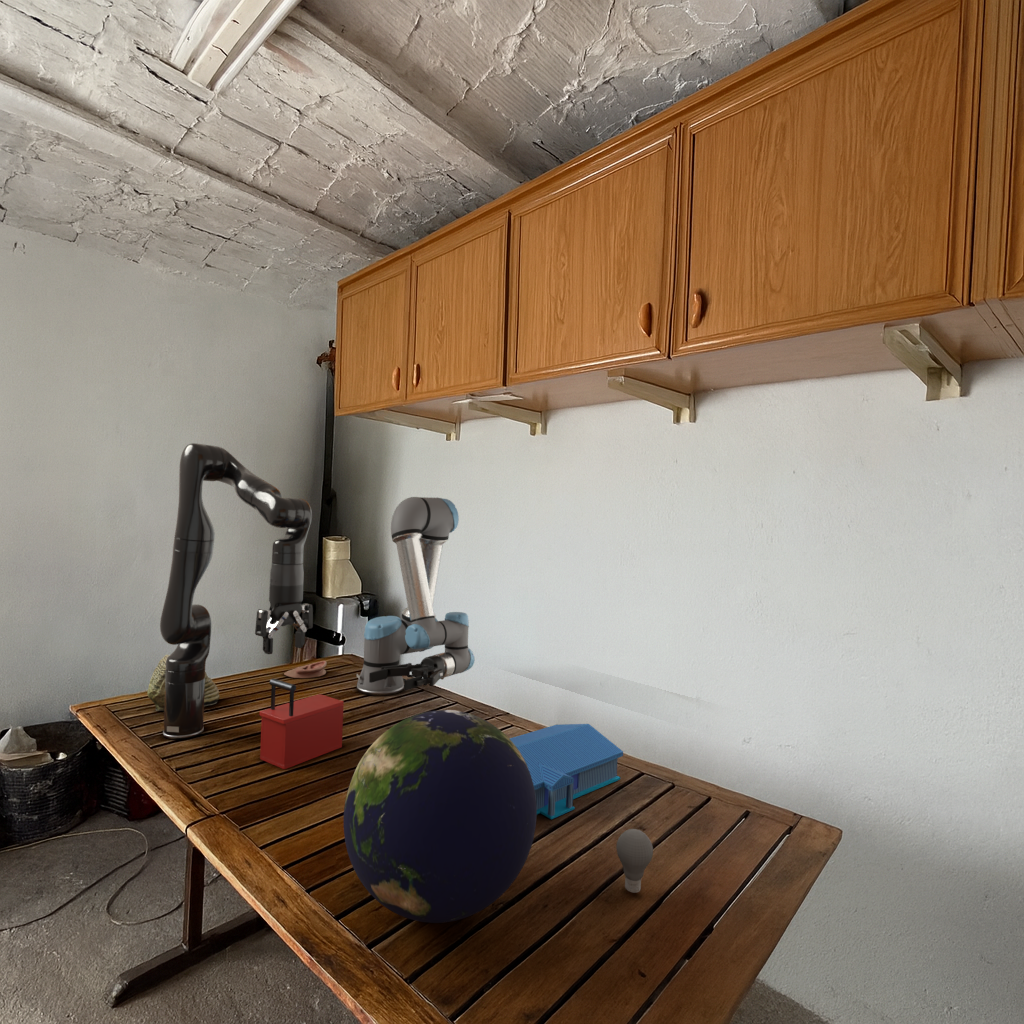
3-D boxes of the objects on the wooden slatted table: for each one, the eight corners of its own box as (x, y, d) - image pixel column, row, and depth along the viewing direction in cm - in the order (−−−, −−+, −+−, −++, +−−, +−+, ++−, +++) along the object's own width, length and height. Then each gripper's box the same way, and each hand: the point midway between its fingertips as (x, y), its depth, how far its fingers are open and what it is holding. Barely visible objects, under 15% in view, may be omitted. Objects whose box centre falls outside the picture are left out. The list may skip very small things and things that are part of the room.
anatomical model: (279, 664, 218) (297, 657, 229) (279, 676, 218) (296, 668, 229) (314, 668, 215) (331, 660, 227) (314, 680, 216) (330, 671, 227)
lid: (283, 724, 145) (284, 688, 145) (259, 715, 150) (260, 680, 150) (343, 705, 160) (344, 672, 160) (319, 697, 165) (320, 665, 165)
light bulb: (610, 879, 108) (613, 822, 108) (644, 879, 109) (647, 822, 109) (619, 902, 102) (622, 840, 102) (655, 901, 103) (658, 840, 103)
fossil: (144, 707, 182) (145, 655, 182) (212, 696, 194) (213, 647, 194) (151, 716, 175) (153, 662, 175) (221, 703, 188) (223, 653, 188)
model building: (505, 839, 120) (507, 787, 120) (430, 791, 138) (432, 746, 138) (631, 784, 146) (633, 741, 146) (555, 749, 164) (556, 711, 164)
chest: (284, 769, 146) (285, 723, 146) (260, 759, 151) (261, 715, 151) (342, 747, 160) (343, 705, 160) (318, 738, 165) (319, 697, 165)
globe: (296, 934, 92) (304, 728, 91) (406, 836, 119) (412, 678, 119) (484, 1004, 80) (494, 770, 80) (557, 878, 108) (565, 703, 108)
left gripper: (270, 586, 142) (267, 658, 142) (321, 581, 154) (318, 648, 154) (250, 583, 146) (247, 653, 146) (301, 578, 158) (298, 643, 158)
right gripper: (468, 685, 189) (420, 702, 171) (406, 673, 203) (356, 687, 185) (468, 660, 189) (421, 674, 171) (406, 649, 203) (356, 661, 185)
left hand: (284, 650), depth 150 cm, fingers open, 8 cm apart
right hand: (387, 681), depth 178 cm, fingers open, 13 cm apart
